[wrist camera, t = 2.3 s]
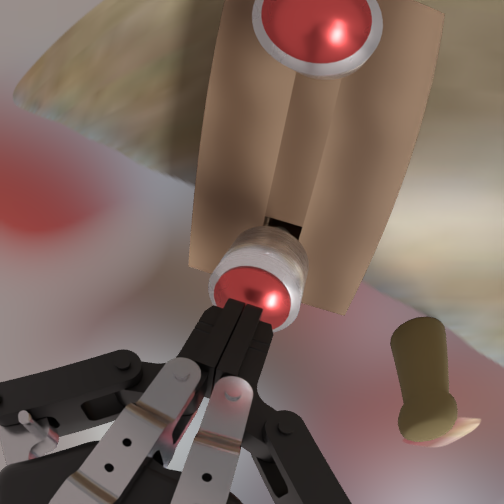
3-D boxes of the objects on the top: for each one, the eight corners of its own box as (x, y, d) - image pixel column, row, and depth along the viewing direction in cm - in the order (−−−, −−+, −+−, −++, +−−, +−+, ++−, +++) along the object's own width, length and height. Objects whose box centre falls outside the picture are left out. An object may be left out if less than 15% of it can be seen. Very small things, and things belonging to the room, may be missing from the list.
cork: (378, 341, 27) (377, 439, 18) (423, 306, 24) (442, 408, 15) (413, 365, 28) (418, 454, 19) (455, 334, 24) (475, 426, 15)
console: (422, 29, 13) (444, 13, 9) (345, 276, 25) (344, 315, 21) (255, -11, 15) (232, -34, 11) (213, 236, 26) (188, 266, 22)
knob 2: (372, 22, 11) (392, -20, 6) (357, 92, 13) (370, 90, 8) (292, 3, 12) (262, -44, 6) (277, 72, 14) (239, 60, 9)
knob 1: (322, 215, 18) (311, 280, 12) (303, 273, 20) (284, 347, 14) (253, 195, 18) (210, 248, 13) (241, 254, 21) (202, 319, 15)
